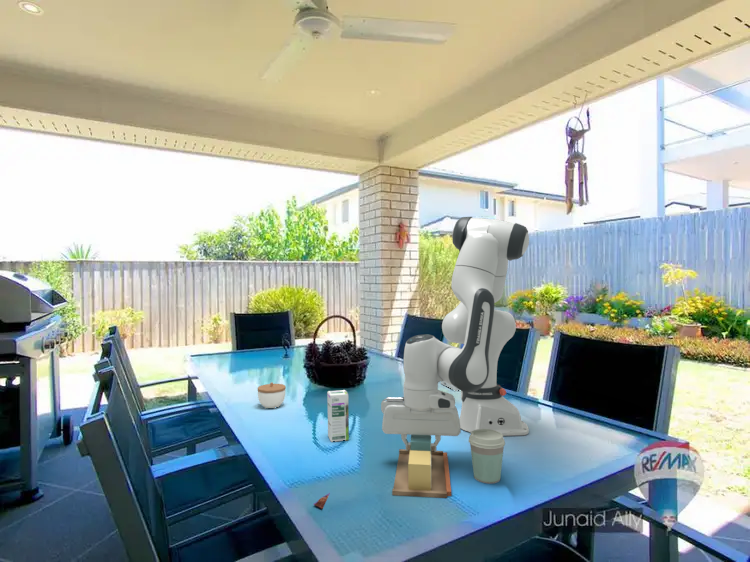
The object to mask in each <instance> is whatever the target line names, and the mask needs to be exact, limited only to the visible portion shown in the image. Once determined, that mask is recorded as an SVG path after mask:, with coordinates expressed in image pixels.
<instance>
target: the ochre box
mask: <svg viewBox="0 0 750 562" xmlns="http://www.w3.org/2000/svg"><path fill="white" fill-rule="evenodd" d="M408 485H409V490H425V491H431V454H430V451H415V450H410V453H409V463H408Z"/></svg>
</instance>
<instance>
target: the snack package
mask: <svg viewBox="0 0 750 562" xmlns="http://www.w3.org/2000/svg"><path fill="white" fill-rule="evenodd" d="M330 494H331V493H330V492H329V493H327V494H325V495H323V496H322V497H320V498H319V499H318V500H317V501H315V502H314V503H313V506H316V507H318V508H320V509H321V510H322V509H324V507H325V504H326V503H327V500H328V499H329V496H330Z"/></svg>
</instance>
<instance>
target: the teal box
mask: <svg viewBox="0 0 750 562" xmlns="http://www.w3.org/2000/svg"><path fill="white" fill-rule="evenodd" d="M409 442H410V446H411V450H415V451H430V454H431V443H432V435H410V441H409Z"/></svg>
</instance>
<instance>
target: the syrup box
mask: <svg viewBox="0 0 750 562" xmlns="http://www.w3.org/2000/svg"><path fill="white" fill-rule="evenodd" d="M326 395H327V396H326V398H327V399H326V400H327V436H328V438H329V440H330V443H334V442H333V441H335V442H342V441H343V440H345V441H349V440H350V429H349V427H350V426H349V425H350V423H349V421H350V420H349V418H350V417H349V412H350V411H349V409H350V408H349V393H348V391H347V390H345V389H343V390H328V391H327V393H326Z"/></svg>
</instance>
